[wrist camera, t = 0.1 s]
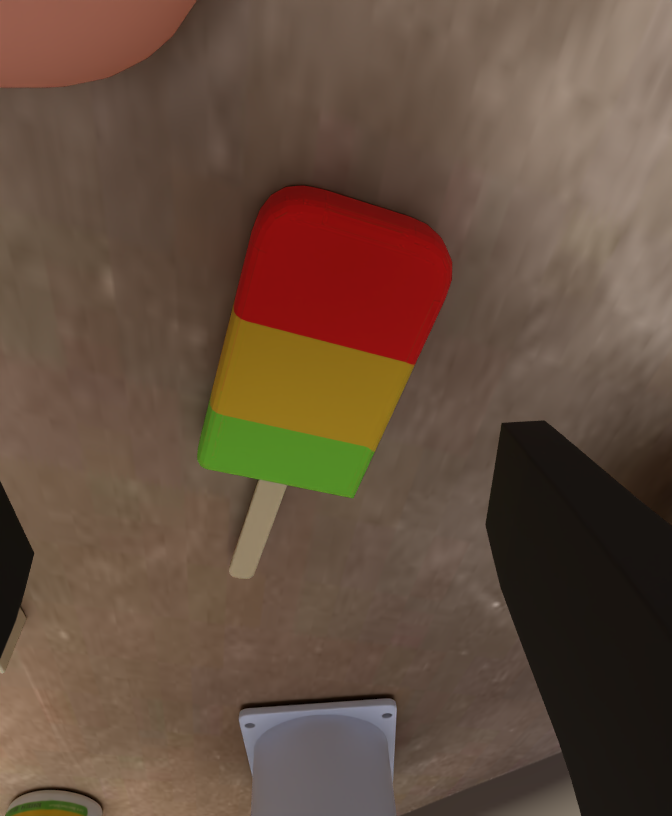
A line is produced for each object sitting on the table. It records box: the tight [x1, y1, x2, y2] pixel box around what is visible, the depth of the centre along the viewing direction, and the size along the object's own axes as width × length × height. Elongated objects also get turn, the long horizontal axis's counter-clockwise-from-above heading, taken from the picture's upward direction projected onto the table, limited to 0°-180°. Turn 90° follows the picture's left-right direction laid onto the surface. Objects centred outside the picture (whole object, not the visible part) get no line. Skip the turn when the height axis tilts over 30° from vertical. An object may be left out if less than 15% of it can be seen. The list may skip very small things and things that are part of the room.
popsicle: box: [197, 185, 452, 579], centre depth 20 cm, size 6×15×2 cm, turn 162°
